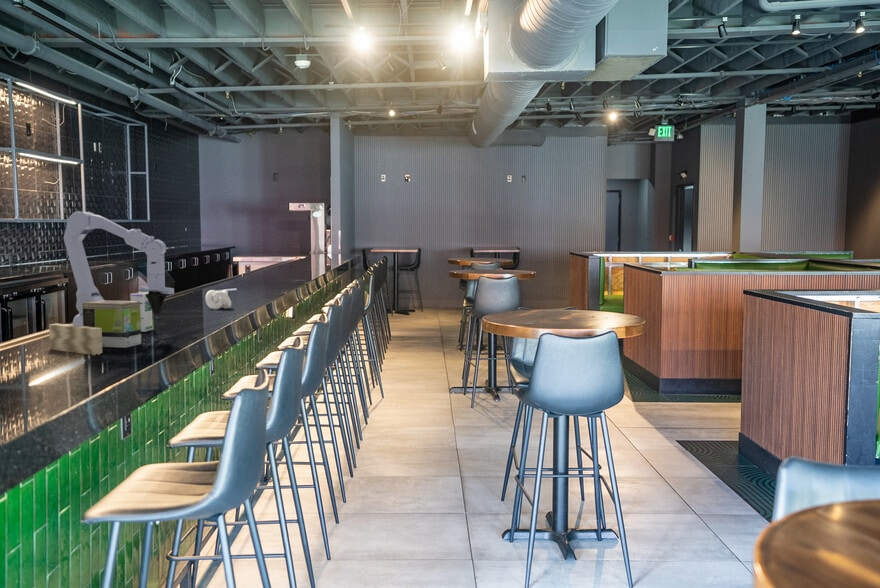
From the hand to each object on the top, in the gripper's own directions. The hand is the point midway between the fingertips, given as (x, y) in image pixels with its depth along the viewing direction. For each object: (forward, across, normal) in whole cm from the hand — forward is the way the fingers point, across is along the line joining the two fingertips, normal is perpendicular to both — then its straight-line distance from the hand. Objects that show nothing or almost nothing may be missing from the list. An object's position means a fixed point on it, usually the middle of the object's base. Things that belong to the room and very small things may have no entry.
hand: (156, 313), depth 252 cm
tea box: (+10, -4, -15) cm, 18 cm away
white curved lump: (+10, -46, +84) cm, 96 cm away
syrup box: (+10, -22, +14) cm, 28 cm away
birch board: (+9, -4, -29) cm, 31 cm away
